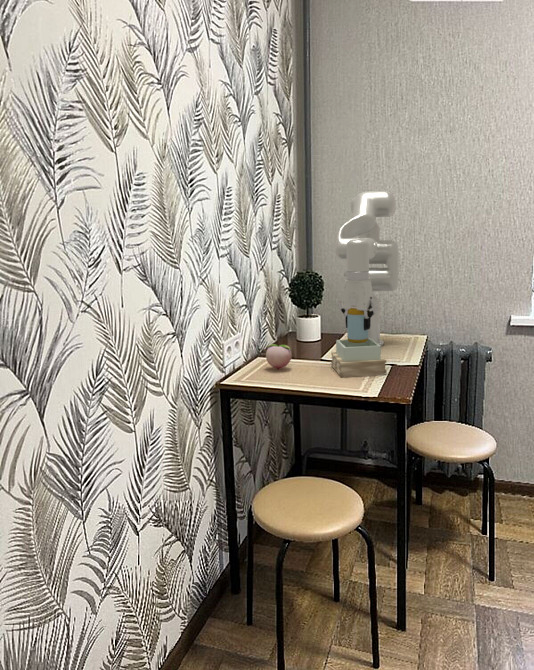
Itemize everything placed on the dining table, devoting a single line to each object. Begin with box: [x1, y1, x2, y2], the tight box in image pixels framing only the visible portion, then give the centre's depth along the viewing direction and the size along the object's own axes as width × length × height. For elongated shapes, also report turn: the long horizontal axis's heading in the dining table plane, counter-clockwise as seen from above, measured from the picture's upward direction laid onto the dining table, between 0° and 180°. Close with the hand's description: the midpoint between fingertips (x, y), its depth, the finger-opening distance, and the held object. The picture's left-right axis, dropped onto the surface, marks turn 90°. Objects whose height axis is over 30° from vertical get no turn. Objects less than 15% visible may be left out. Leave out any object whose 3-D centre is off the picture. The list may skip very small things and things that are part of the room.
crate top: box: [335, 338, 382, 362], centre depth 214 cm, size 13×13×5 cm
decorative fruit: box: [265, 341, 292, 370], centre depth 218 cm, size 9×8×10 cm
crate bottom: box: [330, 351, 387, 378], centre depth 215 cm, size 16×16×5 cm
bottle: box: [346, 299, 368, 343], centre depth 211 cm, size 7×7×15 cm
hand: (357, 328), depth 212 cm, fingers closed on bottle, 6 cm apart
